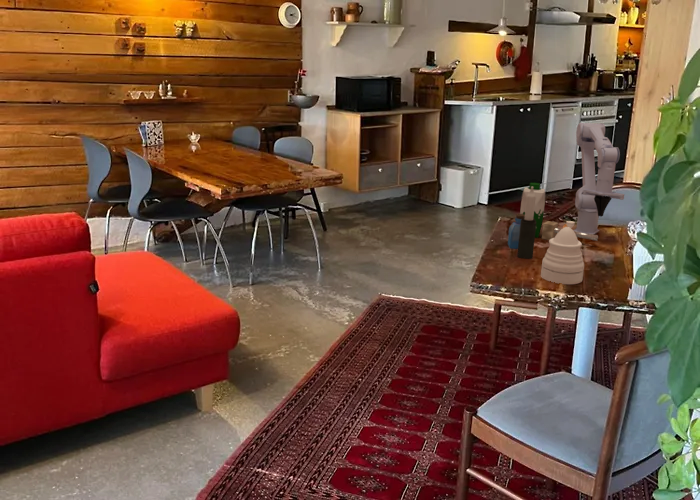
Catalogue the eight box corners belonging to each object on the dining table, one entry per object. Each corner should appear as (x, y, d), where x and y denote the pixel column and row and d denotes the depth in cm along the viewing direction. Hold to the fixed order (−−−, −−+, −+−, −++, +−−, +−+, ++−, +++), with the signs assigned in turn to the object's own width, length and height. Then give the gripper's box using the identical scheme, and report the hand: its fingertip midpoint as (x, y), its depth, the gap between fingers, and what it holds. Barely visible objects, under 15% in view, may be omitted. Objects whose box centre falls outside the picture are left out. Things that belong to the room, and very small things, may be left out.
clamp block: (541, 238, 259) (543, 223, 257) (546, 235, 263) (548, 221, 261) (551, 240, 257) (553, 225, 255) (556, 237, 261) (558, 222, 259)
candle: (532, 259, 233) (540, 188, 226) (517, 257, 234) (524, 187, 227) (531, 254, 238) (539, 185, 231) (517, 253, 239) (524, 184, 232)
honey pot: (550, 268, 224) (556, 216, 219) (588, 277, 216) (596, 223, 211) (533, 277, 214) (540, 223, 209) (573, 287, 206) (580, 230, 201)
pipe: (543, 231, 259) (544, 226, 259) (545, 230, 261) (546, 225, 260) (596, 241, 248) (596, 235, 247) (597, 240, 250) (598, 234, 249)
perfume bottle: (524, 244, 250) (527, 213, 247) (527, 249, 245) (530, 217, 241) (507, 243, 251) (510, 212, 247) (509, 248, 245) (513, 216, 242)
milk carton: (541, 233, 267) (547, 183, 261) (540, 239, 258) (546, 187, 253) (518, 230, 269) (523, 181, 263) (517, 236, 261) (522, 185, 255)
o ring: (560, 241, 254) (562, 225, 252) (565, 237, 259) (567, 222, 257) (565, 242, 253) (567, 226, 251) (570, 238, 258) (572, 223, 256)
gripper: (582, 178, 250) (577, 214, 254) (622, 183, 242) (617, 220, 246) (588, 176, 255) (583, 211, 259) (627, 181, 247) (622, 217, 251)
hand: (600, 215), depth 253 cm, fingers closed
